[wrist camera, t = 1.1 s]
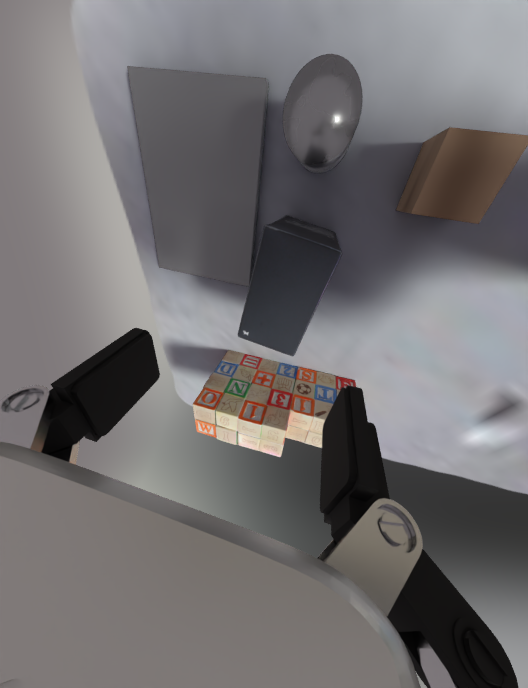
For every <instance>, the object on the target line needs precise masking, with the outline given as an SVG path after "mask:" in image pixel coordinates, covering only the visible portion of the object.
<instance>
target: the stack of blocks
mask: <svg viewBox="0 0 528 688" xmlns="http://www.w3.org/2000/svg"><path fill="white" fill-rule="evenodd" d="M348 385H350V386H353V387H356V383H355V381H354V380H350V379H346V378H341V377H337V376H335V375H331V374H327V373H323V372H317V371H314V370H310V369H306V368H302V367H296V366H292V365H288V364H284V363H279V362H275V361H271V360H266V359H262V358H259V357H255V356H251V355H247V354H243V353H239V352H235V351H231V350H228V351H227V353H226V354H225V356H224V357H223V359H222V361H221V362H220V364H219V365H218V367H217V368H216V369H215V371H214V372H213V373H212V375H211V376H210V377H209V379H208V380H207V382H206V383H205V385H204V387H203V390H202V391H201V393H200V394H199V396H198V397H197V399H196V400H195V402H194V403H193V410H194V418H195V423H196V429H197V432H199V433H202V434H206V435H209V436H212V437H215V438H217V439H218V440H221V441H224V442H228V443H231V444H235V445H237V444H238V445H240V446H243V447H247V448H250V449H254V450H259V451H261V452H264V453H268V454H271V455H275V456H278V457H281V453H282V449H283V445H284V440H285V437H286V438H289V439H293V440H297V441H300V442H304V443H306V444H310V445H314V446H317V447H320V448H322V430H323V424H324V422H325V420H326V418H327V416H328V414H329V412H330V410H331V408H332V406H333V404H334V402H335V400H336V398H337V396H338V394H339V392H340V390H341V388H342V387H344V388H346V387H347V386H348Z"/></svg>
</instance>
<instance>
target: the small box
mask: <svg viewBox="0 0 528 688" xmlns="http://www.w3.org/2000/svg"><path fill="white" fill-rule="evenodd" d="M341 255H342V252H341V249H340V246H339V243H338V240H337V236H336V233H335V232H332V231H329V230H327V229H324V228H321V227H318V226H316V225H313V224H310V223H307V222H304V221H301V220H299V219H296V218H293V217H290V216H287V215H286V216H284V217H283V218H281V219H280V220H278V221H275V222H274V223H272V224H269V225H265V226H264V229H263V233H262V237H261V241H260V245H259V249H258V253H257V257H256V262H255V265H254V269H253V273H252V278H251V281H250V285H249V290H248V294H247V298H246V303H245V306H244V311H243V314H242V318H241V323H240V327H239V331H238V337H240V338H242V339H245V340H248V341H251V342H254V343H257V344H259V345H262V346H265V347H268V348H270V349H273V350H276V351H279V352H281V353H284V354H287V355H290V356H294V355H295V353H296V351H297V348H298V346H299V344H300V342H301V340H302V338H303V336H304V334H305V331H306V329H307V327H308V325H309V323H310V321H311V319H312V316H313V314H314V312H315V310H316V308H317V306H318V304H319V302H320V299H321V297H322V295H323V293H324V291H325V289H326V287H327V285H328V283H329V281H330V278H331V276H332V274H333V272H334V270H335V268H336V266H337V264H338V262H339V259H340V257H341Z"/></svg>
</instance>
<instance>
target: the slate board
mask: <svg viewBox="0 0 528 688" xmlns="http://www.w3.org/2000/svg"><path fill="white" fill-rule="evenodd" d="M127 68H128V74H129V81H130V87H131V93H132V99H133V106H134V112H135V118H136V125H137V131H138V137H139V143H140V150H141V156H142V162H143V169H144V175H145V181H146V187H147V194H148V200H149V206H150V212H151V219H152V225H153V231H154V238H155V244H156V250H157V256H158V263H159V268H164V269H169V270H173V271H178V272H183V273H187V274H192V275H196V276H201V277H206V278H210V279H215V280H220V281H224V282H229V283H234V284H238V285H243V286H248V287H249V285H250V281H251V277H252V266H253V255H254V243H255V232H256V221H257V210H258V199H259V188H260V177H261V166H262V155H263V144H264V133H265V122H266V110H267V99H268V88H269V83H268V81H267V79H266V78H257V77H245V76H234V75H223V74H211V73H200V72H189V71H177V70H166V69H155V68H143V67H132V66H127Z"/></svg>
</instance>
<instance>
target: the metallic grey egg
mask: <svg viewBox="0 0 528 688" xmlns="http://www.w3.org/2000/svg"><path fill="white" fill-rule="evenodd" d="M361 109H362V88H361V82H360V79H359V76H358V74H357V72H356V70H355V68H354V67H353V65H352V64H351V63H350V62H349V61H348V60H347V59H345V58H344V57H341V56H339V55H335V54H326V55H321V56H319V57H316V58H314V59H313V60H311V61H310V62H309V63H307V64H306V65H305V66H304V67H303V68H302V69H301V70H300V71H299V73H298V74H297V76H296V77H295V79H294V80H293V82H292V84H291V86H290V88H289V91H288V93H287V96H286V100H285V104H284V110H283V129H284V135H285V138H286V141H287V144H288V146H289V148H290V150H291V151H292V153H293V154H294V155H295V156H296V158H297V159H298V160H299V162H300V163H301V164H302V165H303V166H304V167H305V168H306V169H307V170H309V171H311V172H314V173H323V172H326V171H329V170H331V169H332V168H334V167H335V166H336V165H337V164H338V163H339V162H340V161H341V160H342V158H343V157H344V155H345V154H346V152H347V150H348V147H349V145H350V142H351V140H352V137H353V135H354V133H355V130H356V128H357V125H358V122H359V119H360V114H361Z"/></svg>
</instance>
